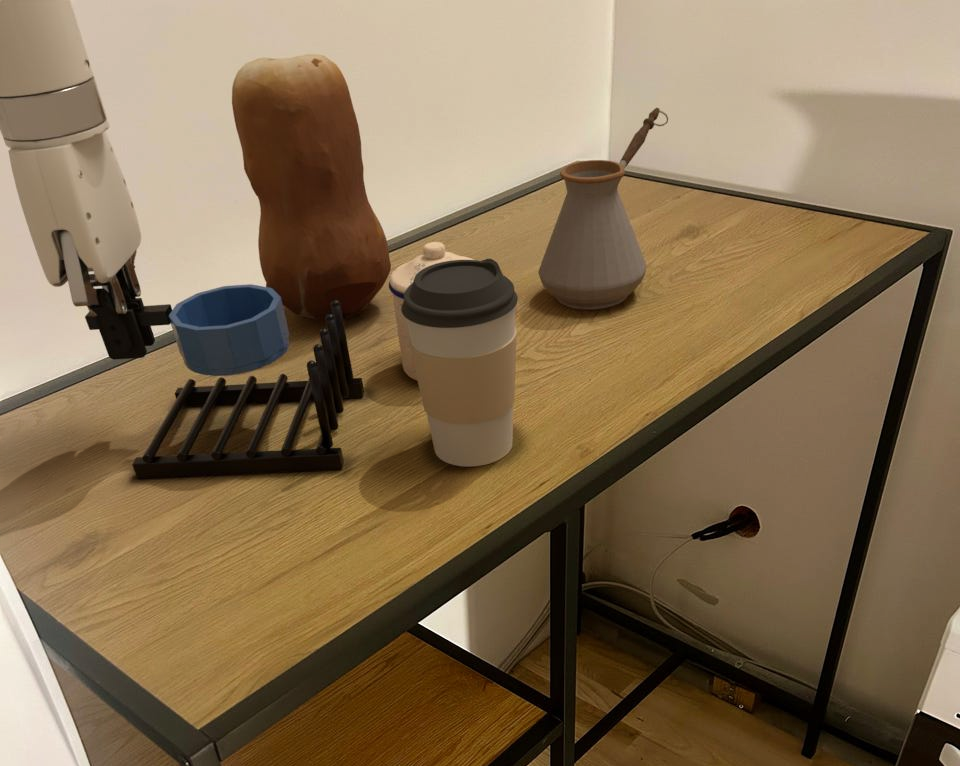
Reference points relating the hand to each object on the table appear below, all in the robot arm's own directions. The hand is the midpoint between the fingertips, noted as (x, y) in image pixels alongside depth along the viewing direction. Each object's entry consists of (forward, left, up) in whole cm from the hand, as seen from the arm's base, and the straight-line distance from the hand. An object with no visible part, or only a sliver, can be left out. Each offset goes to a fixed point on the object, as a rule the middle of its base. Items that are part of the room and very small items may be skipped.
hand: (132, 349), depth 82 cm
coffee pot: (+43, +31, -9) cm, 54 cm away
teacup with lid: (+27, +12, -9) cm, 31 cm away
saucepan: (+5, 0, -1) cm, 5 cm away
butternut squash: (+12, +26, -9) cm, 30 cm away
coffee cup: (+29, -4, -9) cm, 30 cm away
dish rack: (+9, 0, -9) cm, 12 cm away
